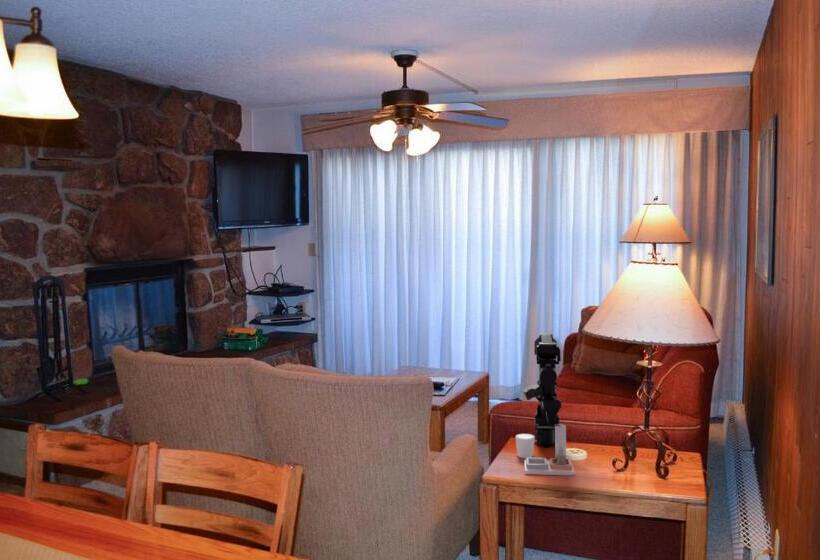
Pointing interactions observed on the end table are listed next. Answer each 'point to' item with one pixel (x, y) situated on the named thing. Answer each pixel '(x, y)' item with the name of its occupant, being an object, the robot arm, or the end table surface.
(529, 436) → the white cup
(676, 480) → the end table surface
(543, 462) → the grey compartment tray
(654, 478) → the end table surface
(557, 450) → the steel pin
